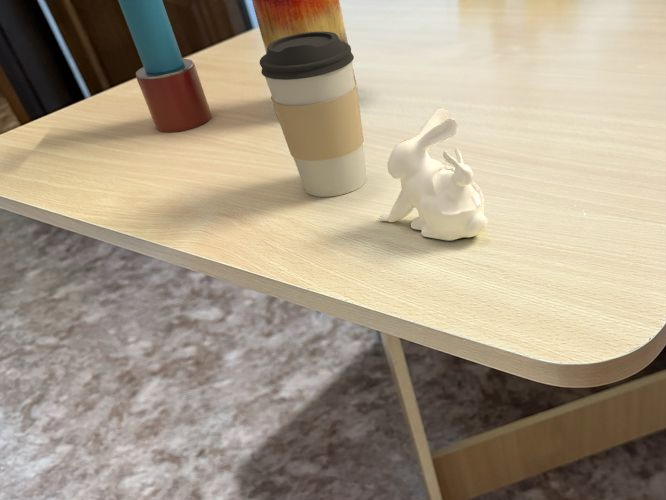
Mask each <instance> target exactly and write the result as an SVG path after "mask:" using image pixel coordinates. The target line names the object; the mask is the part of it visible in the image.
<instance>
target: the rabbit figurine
mask: <svg viewBox="0 0 666 500" xmlns="http://www.w3.org/2000/svg"><path fill="white" fill-rule="evenodd" d="M449 115H450V114H449V111H448V110H447V108H444V107H439V108H437V109H435V110H434V111H433V112H432V113H431V115H430V116H429V118H428V119H427V120H426V122H425V123H424V124H423V126H422V127H421V128H420V129H419V131H418V132H417V134H416V135H415V136H413V137H412V138H410V139H407V140H404V141H401V142H399V143H397V145H395V146H394V148H393V149H392V150H391V153H390V155H389V157H388V160H387V164H386V165H387V167H386V168H387V172H388V173H389V175H390V176H391V177H392V178H393V179H397V180H400V183H401V189H400V192H399V194H398V196H397V197H396V199H395V202H394V204H393V205H392V207H391V209H390V212H389V213H383V214H382V215H379V217H378V218H377V220H378V221H379V222H389V223H395V222H397V221H400V220H403V219H404V218H406V217H407V216H409V214H411V213H412V212H413V210H414V208H415V209H416V210H417V212H418V217H416V218H415V217H414V219H412V221H411V223H410V228H412V229H413V230H418V231H421V235H422V236H423V237H424V238H432V239H437V240H442V241H455V240H458V239H459V240H460V239H462V238H472V237H473V238H474V237H477V236H478V235H480V234H483V232H485V230H486V229H487V227H488V223H489V222H488V221H489V220H488V217H487V216H485V215H484V213H485V195H484V193H483V191H482V190H481V188H480V187H479V185H478V184H477V183H476V182H475V181H474V172H473V170H472V168H471V167H470V166H469V165H467V164H466V163H464V160H463V156H462V153H461V151H460V149H459V148H455V149H454V154H455V157H456V158H454V157H453V156H452V155H451V154H449V153H448V152H447V151H446V150H443V152H442V158H443V159H444V160H445V162H447V163H448V164H450V165H446V164H443V163H441V161H439V160H437V159H433V158H431V157H430V156H431V155H430V154H429V153H428V151H427V150H429V149H431V148H432V147H434V146H436V145H438V144H442V143H444V142H446V141H447V140H449V139H451V138H452V137H454V136H455V135H456V134H457V130H459V124H458V122H457V121H456V119H455V118H453V117H450V118H449Z"/></svg>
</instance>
